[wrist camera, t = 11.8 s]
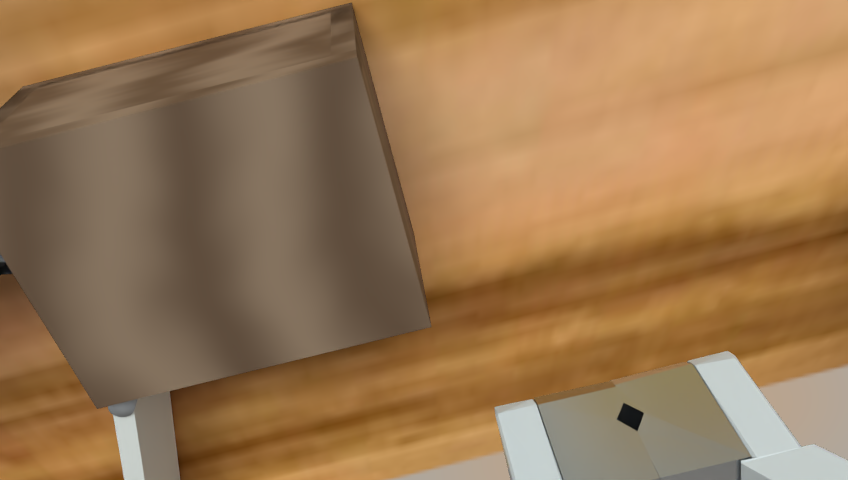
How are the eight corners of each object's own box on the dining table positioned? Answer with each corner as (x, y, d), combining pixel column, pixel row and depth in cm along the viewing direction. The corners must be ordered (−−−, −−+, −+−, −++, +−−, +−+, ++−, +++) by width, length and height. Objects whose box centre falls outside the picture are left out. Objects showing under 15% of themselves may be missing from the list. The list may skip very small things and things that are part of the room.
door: (184, 490, 50) (162, 592, 43) (151, 491, 49) (124, 594, 43) (162, 307, 42) (132, 398, 36) (123, 307, 42) (86, 398, 36)
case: (351, 2, 35) (356, 57, 28) (413, 233, 42) (431, 326, 34) (22, 86, 35) (-57, 162, 28) (137, 302, 42) (97, 408, 35)
